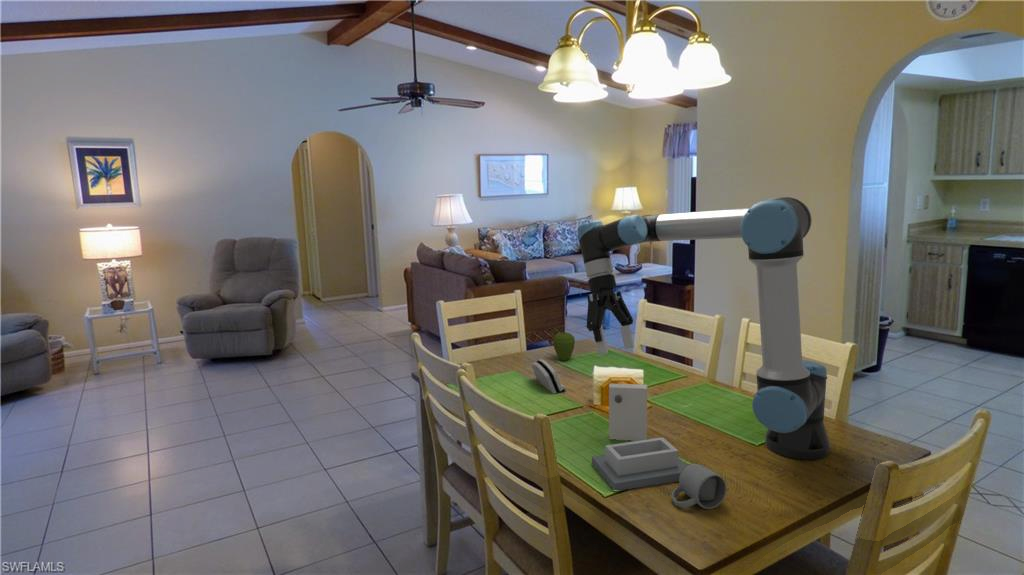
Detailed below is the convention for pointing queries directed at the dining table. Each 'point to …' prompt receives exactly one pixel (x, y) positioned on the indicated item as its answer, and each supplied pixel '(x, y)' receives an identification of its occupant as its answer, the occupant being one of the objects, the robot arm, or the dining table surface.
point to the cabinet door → (628, 412)
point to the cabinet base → (639, 464)
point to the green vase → (564, 345)
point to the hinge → (547, 376)
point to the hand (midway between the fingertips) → (616, 351)
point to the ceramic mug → (700, 487)
